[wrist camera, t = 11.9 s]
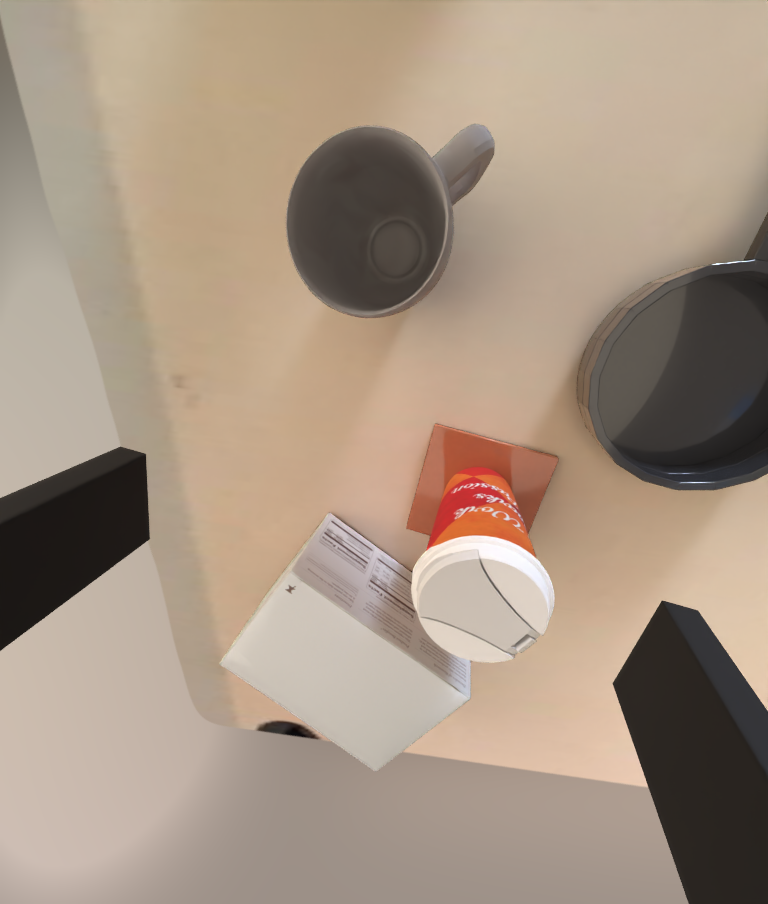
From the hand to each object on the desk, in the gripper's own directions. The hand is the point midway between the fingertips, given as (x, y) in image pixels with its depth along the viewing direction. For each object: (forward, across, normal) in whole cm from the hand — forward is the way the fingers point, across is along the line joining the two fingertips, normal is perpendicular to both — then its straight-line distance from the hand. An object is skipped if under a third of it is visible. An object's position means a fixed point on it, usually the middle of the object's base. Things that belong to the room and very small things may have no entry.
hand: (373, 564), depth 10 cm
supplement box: (+24, -2, -23) cm, 33 cm away
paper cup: (+23, +5, -9) cm, 25 cm away
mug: (+24, -5, +10) cm, 27 cm away
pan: (+24, +16, +4) cm, 29 cm away
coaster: (+24, +5, -9) cm, 26 cm away
